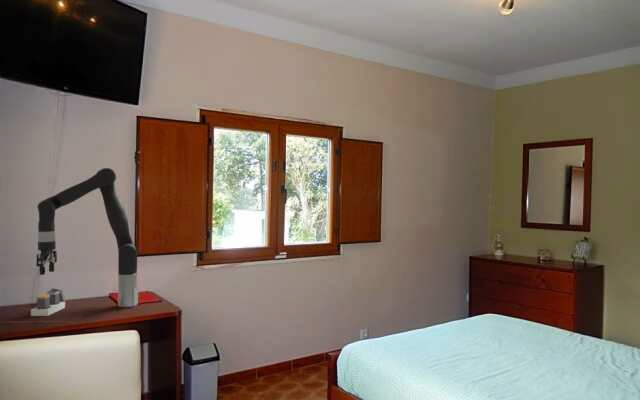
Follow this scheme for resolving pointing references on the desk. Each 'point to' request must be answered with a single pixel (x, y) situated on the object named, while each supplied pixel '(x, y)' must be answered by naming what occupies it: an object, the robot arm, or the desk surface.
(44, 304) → the plug
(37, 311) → the power strip
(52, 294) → the twin plug
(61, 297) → the electrical switch
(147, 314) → the desk surface
